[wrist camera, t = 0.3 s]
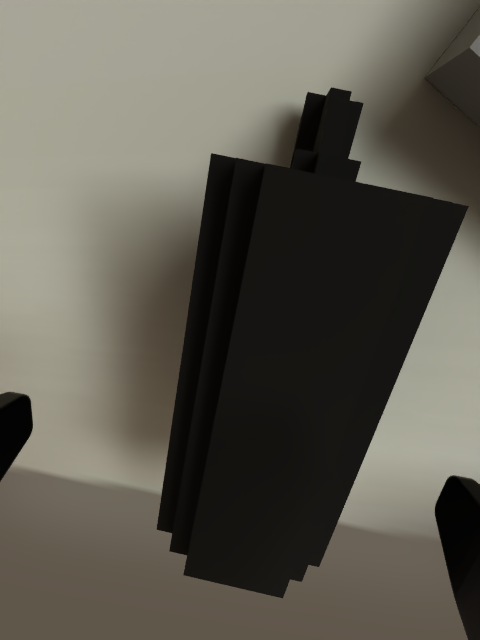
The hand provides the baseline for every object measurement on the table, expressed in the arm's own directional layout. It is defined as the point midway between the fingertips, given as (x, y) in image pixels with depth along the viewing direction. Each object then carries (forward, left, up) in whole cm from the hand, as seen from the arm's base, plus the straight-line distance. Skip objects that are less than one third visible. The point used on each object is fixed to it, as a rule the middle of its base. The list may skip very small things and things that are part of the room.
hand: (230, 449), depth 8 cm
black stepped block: (-1, 0, -13) cm, 13 cm away
